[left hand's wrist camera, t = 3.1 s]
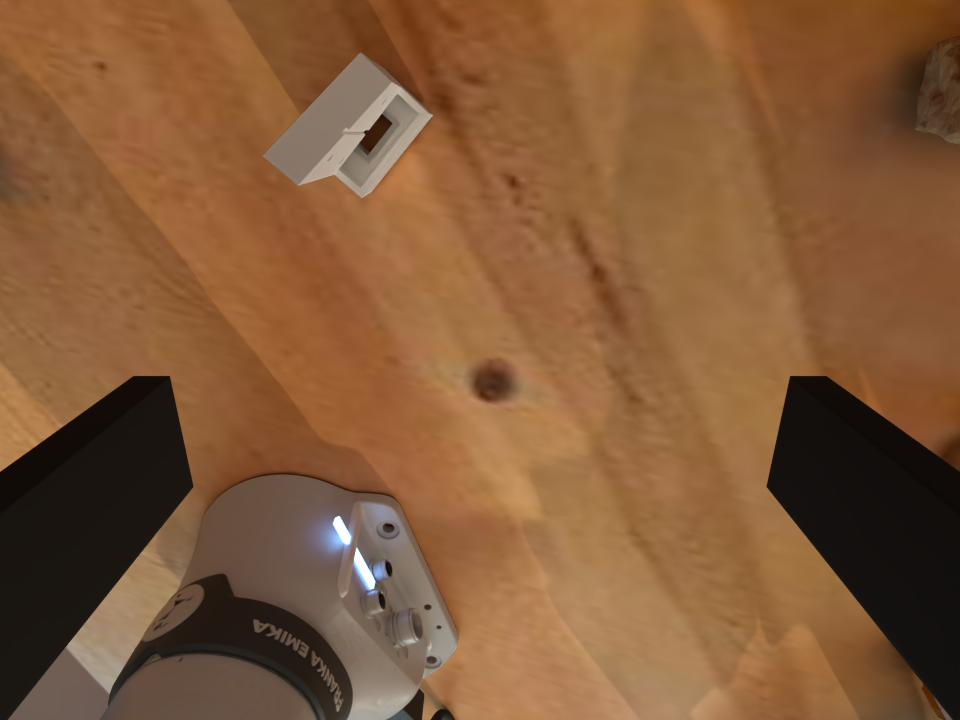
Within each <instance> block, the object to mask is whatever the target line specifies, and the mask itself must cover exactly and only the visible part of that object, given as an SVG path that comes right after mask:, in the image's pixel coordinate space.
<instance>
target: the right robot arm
mask: <svg viewBox="0 0 960 720" xmlns="http://www.w3.org/2000/svg"><path fill="white" fill-rule="evenodd" d="M386 523H390V524H392V525H393V526H392V527H388V526H386V525H385V524H386ZM457 643H458V633H457V630H456V627H455V625H454V623H453V621H452V618H451V616H450V614H449V612H448V610H447V607H446V605H445V603H444V601H443V599H442V596H441V594H440V592H439V590H438V588H437V585H436V583H435V581H434V579H433V577H432V574H431V572H430V570H429V568H428V566H427V563H426V561H425V559H424V557H423V555H422V552H421V550H420V548H419V546H418V544H417V541H416V539H415V537H414V535H413V533H412V530H411V528H410V526H409V524H408V522H407V519H406V517H405V515H404V513H403V511H402V508H401V506H400V505H399V503H398V502H397V501H396V500H395V499H394V498H392V497H390V496H386V495H382V494H372V493H354V492H350V491H347V490H344V489H341V488H339V487H337V486H334V485H332V484H329V483H327V482H324V481H321V480H318V479H314V478H310V477H305V476H299V475H285V474H280V475H267V476H261V477H257V478H253V479H250V480H247V481H244V482H241V483H239V484H237V485H235V486H233V487H232V488H230V489H228V490H227V491H225V492H224V493H223V494H221V495H220V496H219V497H218V498H217V499H216V500H215V501H214V502H213V503H212V504H211V506H210V507H209V509H208V510H207V512H206V513H205V515H204V517H203V520H202V522H201V525H200V529H199V534H198V539H197V543H196V547H195V550H194V553H193V556H192V559H191V561H190V564H189V566H188V569H187V571H186V573H185V575H184V578H183V580H182V582H181V584H180V586H179V588H178V590H177V592H176V594H174V595H173V596H172V597H171V599H170V600H169V601H168V602H167V604H166V605H165V606H164V607H163V608H162V609H161V611H160V612H159V613H158V614H157V616H156V617H155V618H154V620H153V621H152V623H151V624H150V625H149V627H148V628H147V630H146V632H145V633H144V635H143V638H142V639H141V641H140V642H139V644H138V645H137V647H136V648H135V650H134V652H133V653H132V655H131V657H130V658H129V660H128V661H127V663H126V665H125V666H124V668H123V670H122V671H121V673H120V675H119V676H118V678H117V680H116V681H115V683H114V685H113V687H112V690H111V692H110V696H109V701H108V708H107V709H106V711H105V712H104V714H103V716H102V717H101V719H100V720H422V713H423V703H424V693H423V692H422V691H421V690H420V689H419V687H420V685H421V682H422V679H423V678H425V677H426V676H428V675H430V674H431V673H433V672H434V671H435V670H437V669H438V668H439V667H440V666H442V665H443V664H444V663H445V662H446V661H447V660H448V658H449V657H450V656H451V655H452V653H453V652H454V650H455V649H456V647H457ZM431 720H455V719H454V717H453V716H452V715H451V714H450V713H449V712H448V711H446V710H443V709H440V710H439V711H437V712H436V713H435V714H434V716H433V717H432V719H431Z"/></svg>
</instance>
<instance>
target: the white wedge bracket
mask: <svg viewBox="0 0 960 720" xmlns="http://www.w3.org/2000/svg"><path fill="white" fill-rule="evenodd" d="M381 114H383V115H384V116H385V117H386V118H387V119H388V120H389V121H391V122H392V123H393V124H392V125H391V126H390V128H389V129H388V130H387V132H386V133H385V134H384V135H383V137H382V138H381V139H380V141H379V142H378V143H377V144H376V146H375V147H374V148H373V149H372V151H371V152H369V151H367V150H366V149H365V148H364V147H363V146H362V145H361V144H360V143H359V142H360V141H361V140H362V139H363V137H364V136H365V135H366V134H364V133H363V132H364V131H365V130H369V129H370V128H371V127H372V126H373V124H374V123H375V122H376V120H377V119H378V118H379V116H380V115H381ZM432 116H433V114H432V113H431V112H429V111H428V110H427V109H426V108H425V107H424V106H423V105H422V104H421V103H420V102H419V101H418V100H417V99H416V98H415V97H414V96H413V95H412V94H410V93H409V92H408V91H407V90H406V89H405V88H404V87H403V86H402V85H401V84H400V83H399V82H398V81H397V80H396V79H395V78H394V77H393V76H391V75H390V74H389V73H388V72H387V71H386V70H385V69H384V68H383V67H382V66H380V65H379V64H377V63H376V62H374V61H373V60H371V59H370V58H368V57H367V56H365V55H364V54H362V53H361V52H360V53H359V54H358V55H357V56H356V57H355V58H354V60H353V61H352V62H351V63H350V64H349V65H348V66H347V67H346V68H345V69H344V70H343V71H342V72H341V73H340V74H339V75H338V76H337V77H336V79H335V80H334V81H333V82H332V83H331V84H330V85H329V86H328V87H327V88H326V89H325V90H324V91H323V92H322V93H321V94H320V95H319V97H318V98H317V99H316V100H315V101H314V102H313V103H312V104H311V105H310V106H309V107H308V108H307V109H306V110H305V111H304V112H303V113H302V114H301V116H300V117H299V118H298V119H297V120H296V121H295V122H294V123H293V124H292V125H291V126H290V127H289V128H288V129H287V130H286V131H285V132H284V134H283V135H282V136H281V137H280V138H279V139H278V140H277V141H276V142H275V143H274V144H273V145H272V146H271V147H270V148H269V149H268V150H267V151H266V153H265V154H264V155H263V157H264V158H266V159H267V160H268V161H269V162H270V163H271V164H273V165H274V166H275V167H276V168H277V169H279V170H280V171H281V172H282V173H283V174H284V175H286V176H287V177H288V178H289V179H290V180H292V181H293V182H294V183H295V184H296V185H297V186H299V185H302V184H305V183H309V182H312V181H315V180H319V179H322V178H325V177H329V176H332V175H335V176H337V177H338V178H339V179H340V180H341V181H342V182H343V183H345V184H346V185H347V186H348V187H349V188H350V189H352V190H353V191H354V192H355V193H356V194H357V195H358V196H360V197H361V198H362V197H364V196H366V195H368V194H369V193H371V192H372V191H373V190H374V188H375V187H376V186H377V185H378V183H379V182H380V181H381V180H382V178H383V177H384V176H385V175H386V173H387V172H388V171H389V170H390V168H391V167H392V166H393V165H394V163H395V162H396V161H397V160H398V158H399V157H400V156H401V155H402V153H403V152H404V151H405V150H406V148H407V147H408V146H409V145H410V143H411V142H412V141H413V140H414V138H415V137H416V136H417V135H418V133H419V132H420V131H421V130H422V128H423V127H424V126H425V125H426V123H427V122H428V121H429V120H430V118H431V117H432Z"/></svg>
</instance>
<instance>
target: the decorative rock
mask: <svg viewBox="0 0 960 720" xmlns="http://www.w3.org/2000/svg"><path fill="white" fill-rule="evenodd" d="M917 116H918V118H917V121H916V128H915V129H916V130H918V131H922V132H929V133H933V134H938V136H940V137H942V138H943V139H944V140H946V141H948V142H950V143H954V144H959V145H960V36H959V37H954V38H949V39H947V40H944V41H941V42H939V43H937V44H936V45H935V47H934V49H932V50H931V51H930V52H929V53H928V57H927V62H926V65H925V72H924V77H923V82H922V84H921V87H920V92H919V95H918V99H917Z"/></svg>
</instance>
